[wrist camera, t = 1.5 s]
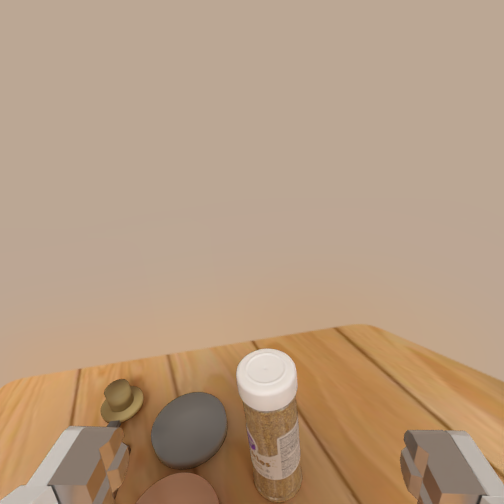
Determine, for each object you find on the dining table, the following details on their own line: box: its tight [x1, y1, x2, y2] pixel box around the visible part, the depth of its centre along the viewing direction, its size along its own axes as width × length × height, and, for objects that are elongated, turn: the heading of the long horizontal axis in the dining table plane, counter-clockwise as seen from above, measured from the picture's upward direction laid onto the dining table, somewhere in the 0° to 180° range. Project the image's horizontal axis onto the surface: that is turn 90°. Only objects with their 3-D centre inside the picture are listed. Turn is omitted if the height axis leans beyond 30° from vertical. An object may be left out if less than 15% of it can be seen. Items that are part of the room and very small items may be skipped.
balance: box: [101, 379, 144, 499], centre depth 28 cm, size 5×19×5 cm, turn 2°
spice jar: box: [236, 349, 302, 502], centre depth 25 cm, size 5×5×13 cm
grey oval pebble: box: [151, 392, 227, 469], centre depth 33 cm, size 8×8×1 cm
